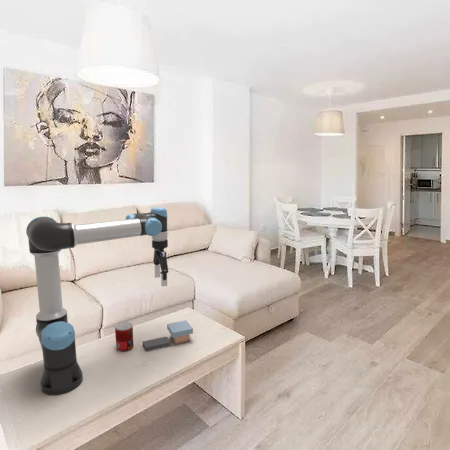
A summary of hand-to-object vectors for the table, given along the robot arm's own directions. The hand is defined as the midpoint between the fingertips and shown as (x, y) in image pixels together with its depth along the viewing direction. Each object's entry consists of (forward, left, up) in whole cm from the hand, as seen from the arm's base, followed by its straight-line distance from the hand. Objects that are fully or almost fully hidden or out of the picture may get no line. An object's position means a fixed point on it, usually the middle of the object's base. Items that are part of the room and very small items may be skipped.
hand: (160, 281), depth 171 cm
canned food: (-19, -4, -29) cm, 35 cm away
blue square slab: (+7, -8, -24) cm, 26 cm away
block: (-5, -9, -28) cm, 30 cm away
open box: (+7, -8, -28) cm, 30 cm away
